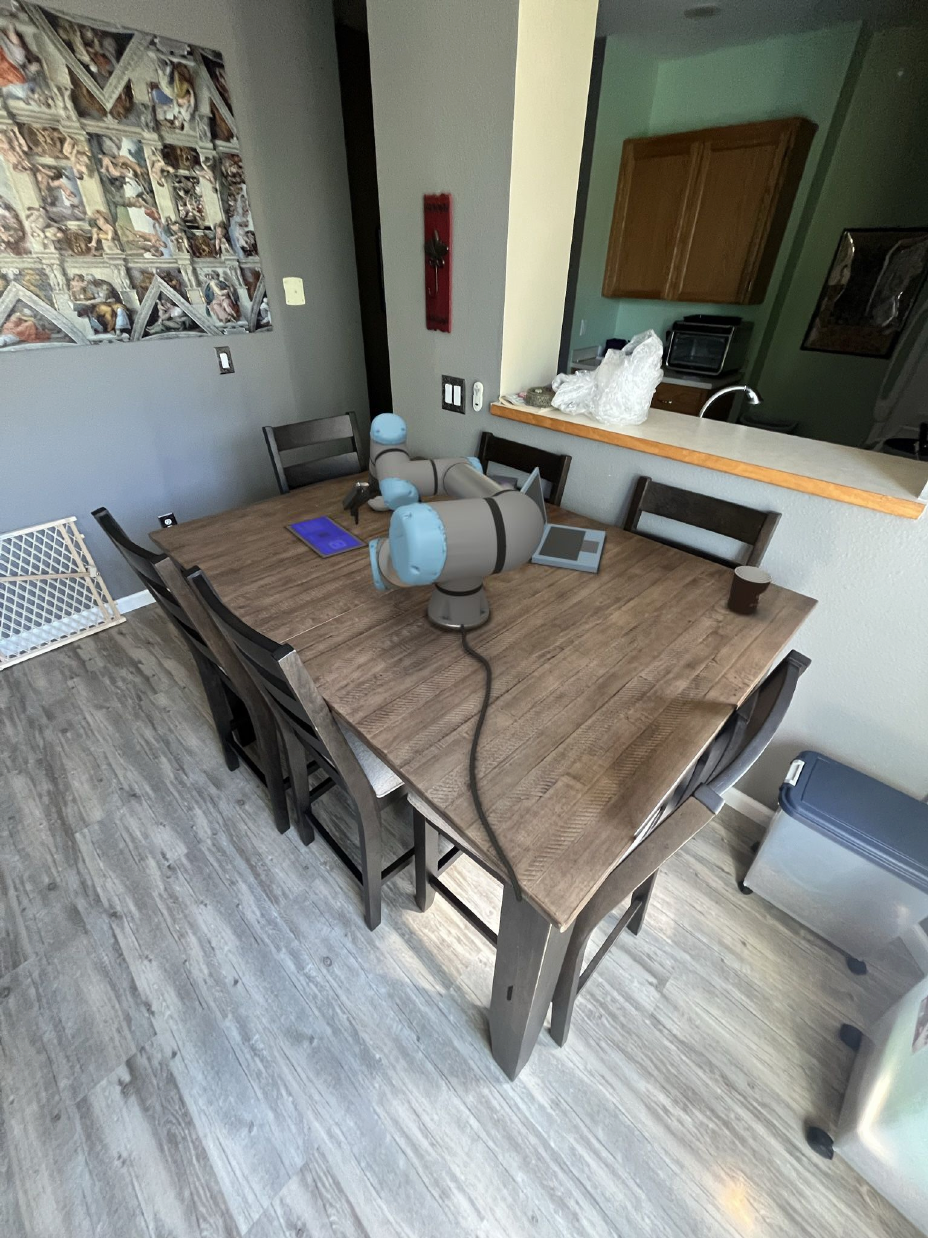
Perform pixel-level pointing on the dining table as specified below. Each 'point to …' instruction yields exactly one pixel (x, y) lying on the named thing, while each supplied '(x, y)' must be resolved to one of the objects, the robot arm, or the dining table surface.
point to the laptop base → (570, 548)
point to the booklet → (325, 536)
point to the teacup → (378, 504)
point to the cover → (535, 492)
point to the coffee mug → (748, 589)
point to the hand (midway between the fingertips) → (381, 517)
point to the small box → (505, 481)
